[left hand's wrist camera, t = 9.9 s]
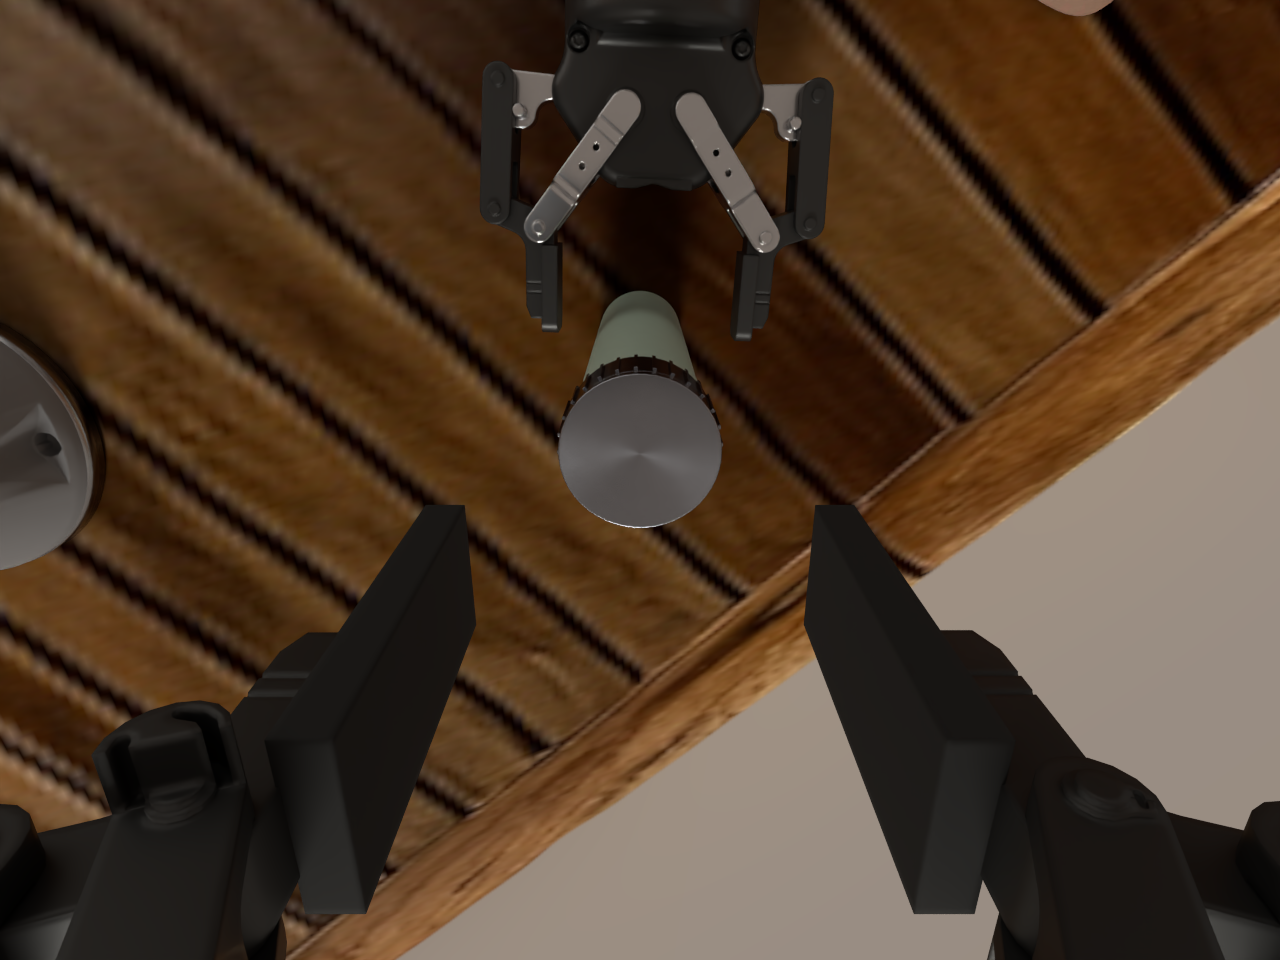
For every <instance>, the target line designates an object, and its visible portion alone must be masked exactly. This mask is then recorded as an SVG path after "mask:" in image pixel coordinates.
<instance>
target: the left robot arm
mask: <svg viewBox="0 0 1280 960" xmlns="http://www.w3.org/2000/svg"><path fill="white" fill-rule="evenodd" d="M104 481H105V459H104V451H103V446H102V442H101V438H100V435H99V432H98V429H97V426H96V424H95V421H94V419H93V416H92V414H91V412H90V410H89V408H88V407H87V405H86V403H85V401H84V400H83V398H82V396H81V395H80V393H79V392H78V390H77V389H76V388H75V386H74V385H73V383H72V382H71V381H70V379H69V378H68V377H67V376H66V375H65V374H64V372H63V371H62V370H61V369H60V368H59V367H58V366H57V365H56V364H55V363H54V362H53V361H52V360H51V359H50V358H49V357H48V356H47V355H46V354H45V353H44V352H42V351H41V350H40V349H39V348H38V347H37V346H35V345H34V344H33V343H31V342H30V341H29V340H27V339H26V338H25V337H23V336H22V335H20V334H18V333H17V332H15V331H14V330H12V329H11V328H9V327H7V326H5V325H3V324H2V323H0V570H3V569H7V568H11V567H15V566H18V565H21V564H24V563H26V562H29V561H32V560H35V559H37V558H39V557H41V556H44V555H45V554H47V553H49V552H51V551H52V550H54V549H56V548H57V547H59V546H60V545H62V544H64V543H65V542H67V541H69V540H70V539H72V538H73V537H74V536H75V535H77V534H78V533H79V532H80V531H81V530H82V529H83V528H84V527H85V526H86V525H87V523H88V522H89V521H90V519H91V518H92V516H93V515H94V513H95V511H96V509H97V507H98V505H99V502H100V500H101V496H102V492H103V488H104ZM475 626H476V618H475V607H474V597H473V587H472V576H471V566H470V556H469V546H468V535H467V525H466V515H465V505H426V506H425V507H424V509H423V510H422V511H421V513H420V514H419V516H418V517H417V519H416V520H415V522H414V523H413V525H412V526H411V527H410V529H409V530H408V532H407V533H406V535H405V536H404V538H403V539H402V541H401V542H400V543H399V545H398V546H397V548H396V549H395V551H394V552H393V554H392V555H391V557H390V558H389V559H388V561H387V562H386V564H385V565H384V567H383V568H382V570H381V571H380V572H379V574H378V575H377V577H376V578H375V580H374V581H373V583H372V584H371V586H370V587H369V588H368V590H367V591H366V593H365V594H364V596H363V597H362V599H361V600H360V602H359V603H358V604H357V606H356V607H355V609H354V610H353V612H352V613H351V615H350V616H349V618H348V619H347V620H346V622H345V623H344V625H343V626H342V628H341V629H340V631H339V632H338V633H307V634H305V635H304V636H302V637H301V638H299V639H298V640H297V641H295V642H294V643H292V644H291V645H289V646H288V647H286V648H285V649H283V650H282V651H280V653H279V654H278V655H277V656H276V658H275V659H274V660H273V661H272V663H271V664H270V665H269V667H268V668H267V669H266V670H265V672H264V673H263V677H262V678H259V679H258V681H257V682H256V683H255V684H254V686H253V687H252V688H251V689H250V691H249V692H248V697H244V698H243V700H242V701H241V702H240V703H239V705H238V706H237V707H236V709H235V710H234V711H233V712H232V714H231V715H230V712H228V711H227V710H226V709H224V708H223V707H222V706H221V705H219V704H216V703H211V702H205V701H190V702H179V703H174V704H170V705H167V706H163V707H160V708H157V709H153V710H150V711H148V712H146V713H144V714H142V715H140V716H138V717H136V718H134V719H131V720H129V721H127V722H125V723H124V724H123V725H121V726H120V727H119V728H117V729H116V730H115V731H113V732H112V733H111V734H109V735H108V736H107V737H105V738H104V739H103V741H102V742H101V743H100V745H99V746H98V747H97V748H96V750H95V751H94V752H93V754H92V758H93V761H94V764H95V766H96V769H97V772H98V775H99V778H100V781H101V784H102V786H103V789H104V792H105V795H106V798H107V801H108V803H109V806H110V809H111V812H112V815H111V816H107V817H104V818H101V819H97V820H92V821H88V822H84V823H79V824H75V825H71V826H67V827H62V828H58V829H54V830H49V831H45V832H41V833H37V831H36V829H35V826H34V824H33V821H32V819H31V817H30V814H29V813H28V812H26V811H25V810H23V809H22V808H20V807H19V806H18V805H6V804H0V960H285V957H286V946H287V940H286V934H285V927H284V923H283V919H282V913H283V911H284V909H285V907H286V905H287V903H288V901H289V899H290V897H291V895H292V893H293V891H294V889H295V887H296V885H297V883H298V885H299V889H300V893H301V897H302V901H303V905H304V910H305V914H366V913H367V910H368V907H369V905H370V902H371V899H372V897H373V894H374V892H375V889H376V886H377V884H378V881H379V878H380V876H381V873H382V871H383V868H384V865H385V863H386V860H387V857H388V855H389V852H390V850H391V847H392V844H393V842H394V839H395V836H396V834H397V831H398V829H399V826H400V823H401V821H402V818H403V815H404V813H405V810H406V807H407V805H408V802H409V800H410V797H411V794H412V792H413V789H414V786H415V784H416V781H417V779H418V776H419V773H420V771H421V768H422V765H423V763H424V760H425V758H426V755H427V752H428V750H429V747H430V744H431V742H432V739H433V737H434V734H435V731H436V729H437V726H438V723H439V721H440V718H441V716H442V713H443V710H444V708H445V705H446V702H447V700H448V697H449V694H450V692H451V689H452V687H453V684H454V681H455V679H456V676H457V673H458V671H459V668H460V666H461V663H462V660H463V658H464V655H465V652H466V650H467V647H468V645H469V642H470V639H471V637H472V634H473V631H474V629H475ZM804 626H805V629H806V631H807V634H808V637H809V639H810V642H811V645H812V647H813V650H814V652H815V655H816V658H817V660H818V663H819V665H820V668H821V671H822V673H823V676H824V679H825V681H826V684H827V687H828V689H829V692H830V694H831V697H832V700H833V702H834V705H835V708H836V710H837V713H838V715H839V718H840V721H841V723H842V726H843V729H844V731H845V734H846V736H847V739H848V742H849V744H850V747H851V750H852V752H853V755H854V757H855V760H856V763H857V765H858V768H859V770H860V773H861V776H862V779H863V781H864V784H865V786H866V789H867V792H868V794H869V797H870V799H871V802H872V805H873V807H874V810H875V813H876V815H877V818H878V821H879V823H880V826H881V829H882V831H883V834H884V836H885V839H886V842H887V844H888V847H889V850H890V852H891V855H892V857H893V860H894V863H895V865H896V868H897V871H898V873H899V876H900V878H901V881H902V884H903V886H904V889H905V891H906V894H907V897H908V899H909V902H910V905H911V907H912V910H913V913H914V914H975V910H976V905H977V901H978V897H979V893H980V889H981V884H982V880H983V881H984V883H985V885H986V887H987V889H988V891H989V893H990V895H991V897H992V899H993V901H994V903H995V905H996V907H997V909H998V911H999V915H998V919H997V923H996V927H995V931H994V935H993V939H992V943H991V946H990V950H989V954H988V958H987V960H1280V801H1275V802H1264V803H1262V804H1261V805H1259V806H1258V807H1256V808H1255V809H1254V810H1252V812H1251V814H1250V817H1249V819H1248V822H1247V824H1246V826H1245V829H1244V830H1240V829H1235V828H1231V827H1227V826H1222V825H1218V824H1214V823H1210V822H1205V821H1201V820H1197V819H1192V818H1188V817H1183V816H1180V815H1176V814H1173V813H1170V812H1167V811H1166V810H1165V808H1164V807H1163V805H1162V804H1161V802H1160V801H1159V799H1158V798H1157V796H1156V795H1155V794H1154V793H1152V792H1151V791H1150V790H1149V789H1148V788H1146V787H1145V786H1144V785H1143V784H1142V783H1141V782H1139V781H1138V780H1137V779H1136V778H1134V777H1132V776H1130V775H1128V774H1126V773H1125V772H1123V771H1121V770H1119V769H1117V768H1115V767H1114V766H1111V765H1108V764H1105V763H1102V762H1099V761H1096V760H1093V759H1090V758H1086V757H1085V756H1084V755H1083V753H1082V752H1081V751H1080V749H1079V748H1078V747H1077V746H1076V744H1075V743H1074V742H1073V741H1072V739H1071V738H1070V737H1069V736H1068V734H1067V733H1066V732H1065V731H1064V729H1063V728H1062V727H1061V726H1060V724H1059V723H1058V722H1057V720H1056V719H1055V718H1054V717H1053V715H1052V714H1051V713H1050V712H1049V710H1048V709H1047V708H1046V707H1045V705H1044V704H1043V703H1042V701H1041V700H1040V699H1039V698H1038V696H1037V695H1033V693H1032V689H1031V688H1030V686H1029V685H1028V684H1027V682H1026V681H1025V680H1024V679H1023V677H1022V676H1018V671H1017V670H1016V669H1015V667H1014V666H1013V665H1012V664H1011V662H1010V661H1009V660H1008V658H1007V657H1006V656H1005V655H1004V653H1003V652H1002V651H1001V650H1000V649H999V648H998V647H996V646H995V645H993V644H992V643H990V642H989V641H987V640H986V639H984V638H983V637H981V636H980V635H978V634H977V633H975V632H974V631H972V630H940V629H939V628H938V626H937V625H936V623H935V622H934V620H933V619H932V618H931V616H930V615H929V613H928V612H927V610H926V609H925V607H924V606H923V604H922V603H921V602H920V600H919V599H918V597H917V596H916V594H915V593H914V591H913V590H912V588H911V587H910V586H909V584H908V583H907V581H906V580H905V578H904V577H903V575H902V574H901V572H900V571H899V570H898V568H897V567H896V565H895V564H894V562H893V561H892V559H891V558H890V557H889V555H888V554H887V552H886V551H885V549H884V548H883V546H882V545H881V543H880V542H879V541H878V539H877V538H876V536H875V535H874V533H873V532H872V530H871V529H870V527H869V526H868V525H867V523H866V522H865V520H864V519H863V517H862V516H861V514H860V513H859V511H858V510H857V509H856V507H855V506H854V505H815V515H814V525H813V535H812V546H811V556H810V566H809V576H808V587H807V597H806V607H805V618H804Z"/></svg>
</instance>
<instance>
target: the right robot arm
mask: <svg viewBox="0 0 1280 960" xmlns="http://www.w3.org/2000/svg"><path fill="white" fill-rule="evenodd" d="M759 2H760V0H565V47H564V53H563V57H562V60H561V63H560V65H559V67H558V69H557V71H556V73H555V75H553V74H544V73H536V72H527V71H519V70H513V69H511V68H510V67H509V66H508V65H507V64H505V63H504V62H501V61H493V62H491V63H489V64H488V65H487V66H486V67H485V69H484V72H483V85H482V132H481V179H480V212H481V215H482V217H483V218H484V219H485V220H486V221H487V222H489V223H491V224H496V225H499V226H501V227H504V228H506V229H508V230H511V231H513V232H515V233H517V234H518V235H519V236H520V237H521V238H522V240H523V241H524V244H525V247H526V282H527V284H526V290H527V308H528V310H529V313H530V315H531V318H542V331H543V332H559V331H560V329H561V327H562V243H560V242H558V231H559V230H560V228H561V227H562V225H563V224H564V223H565V221H566V220H567V219H568V217H569V216H570V215H571V213H572V212H573V211H574V209H575V208H576V207H577V205H578V204H579V203H580V202H581V201H582V199H583V198H584V197H585V196H586V194H587V193H588V192H589V190H590V189H591V188H592V186H593V185H594V184H595V182H596V181H597V180H598V178H599V177H601V178H603V179H604V180H605V181H606V182H608V183H610V184H612V185H614V186H616V187H617V188H639V187H643V186H647V185H651V184H655V185H658V186H661V187H664V188H667V189H670V190H682V191H692V189H696V188H698V187H700V186H702V185H704V184H705V183H708V184H709V186H710V188H711V189H712V191H713V193H714V194H715V196H716V198H717V199H718V201H719V202H720V204H721V205H722V207H723V208H724V209H725V211H726V212H727V214H728V215H729V217H730V219H731V220H732V222H733V224H734V225H735V227H736V228H737V230H738V232H739V233H740V235H741V237H742V238H743V248H742V251H737V256H736V268H735V279H734V291H733V302H732V314H731V326H730V333H731V336H732V338H733V339H734V341H750V340H751V336H752V328H763V326H764V324H765V322H766V320H767V318H768V312H769V303H770V293H771V284H772V274H773V265H774V259H775V256H776V254H777V253H778V251H779V250H780V249H781V248H782V247H784V246H786V245H789V244H792V243H795V242H798V241H801V240H804V239H813V238H815V237H817V236H818V235H819V234H820V233H821V232H822V230H823V228H824V223H825V209H826V195H827V181H828V166H829V152H830V138H831V124H832V110H833V95H834V91H833V87H832V85H831V83H830V82H829V81H828V80H827V79H825V78H814V79H812V80H810V81H808V82H806V83H804V84H773V85H762V82H761V80H760V77H759V75H758V71H757V67H756V61H755V47H756V36H757V24H758V13H759ZM548 103H554V104H555V106H556V108H557V110H558V112H559V113H560V115H561V116H562V118H563V120H564V121H565V123H566V124H567V126H568V127H569V129H570V131H571V132H572V134H573V135H574V137H575V139H576V140H577V142H578V143H579V144H578V146H577V147H576V148H575V150H574V151H573V152H572V154H571V155H570V157H569V158H568V159H567V161H566V162H565V163H564V165H563V166H562V168H561V169H560V170H559V172H558V173H557V175H556V176H555V178H554V179H553V181H552V183H551V185H550V186H549V188H548V189H547V190H546V192H545V193H544V195H543V196H542V197H541V199H540V200H539V201H538V203H537V204H536V206H533V205H531V204H528V203H526V202H524V201H521V200H519V175H520V150H521V130H528V129H531V128H532V127H534V126H535V124H536V123H537V120H538V116H539V112H540V110H541V109H542V107H543V106H544V105H546V104H548ZM761 112H762V113H765V114H767V115H768V116H769V117H770V118H771V120H772V122H773V126H774V133H775V135H776V137H777V138H778V139H779V140H781V141H783V142H789V146H788V166H787V185H786V205H785V212H784V213H781V214H777V215H774V216H771V217H770V215H769V213H768V212H767V210H766V208H765V207H764V205H763V203H762V202H761V200H760V198H759V196H758V195H757V192H756V189H755V187H754V185H753V183H752V181H751V180H750V178H749V176H748V175H747V173H746V171H745V170H744V168H743V166H742V164H741V163H740V161H739V159H738V158H737V156H736V154H735V153H734V151H733V149H734V148H735V147H736V145H737V144H738V143H739V142H740V140H741V139H742V138H743V136H744V135H745V134H746V132H747V131H748V130H749V128H750V127H751V126H752V125H753V123H754V122H755V121H756V119H757V118H758V116H759V115H760V113H761Z"/></svg>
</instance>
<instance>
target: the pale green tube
mask: <svg viewBox="0 0 1280 960" xmlns="http://www.w3.org/2000/svg"><path fill="white" fill-rule="evenodd" d="M636 354H638V356H646V357H652V355H653V356H656V358H658V359H662V360H665V361H668V362H669V360H671V361H673V364H675V365H676V366H678V367H680V368H682V369H683V370H684V369H687V370H688V373H689V374H690V375H691V376H692V377H693V378H694V379H695V380H696V377H695V373H694V370H693V367H692V363H691V360H690V357H689V354H688V350H687V347H686V344H685V340H684V337H683V334H682V331H681V327H680V324H679V321H678V318H677V315H676V313H675V311H674V309H673V308H672V307H671V305H670V304H669V303H668V302H667V301H666V300H664V299H663V298H662V297H660V296H658V295H656V294H654V293H651V292H646V291H634V292H629V293H626V294H624V295H622V296H620V297H618V298H617V299H616V300H614V301H613V302H612V303H611V304H610V305H609V307H608V308H607V309H606V311H605V313H604V315H603V318H602V321H601V324H600V327H599V331H598V334H597V337H596V340H595V344H594V347H593V350H592V354H591V357H590V360H589V363H588V367H587V370H586V373H585V377H584V380H585V378H586V375H587V374H588V373H589V374H592V373H593V372H594V371H596V370H597V369H598V368H600V365H601V364H604V365H605V364H608V363H610V362H612V361H615V360H617V358H618V357H620V358H621V359H622V358H627V357H634V355H636ZM584 380H583V381H584ZM696 381H697V380H696Z"/></svg>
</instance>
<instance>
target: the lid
mask: <svg viewBox="0 0 1280 960" xmlns="http://www.w3.org/2000/svg"><path fill="white" fill-rule="evenodd" d="M562 419H563V420H562V423H561V426H560V429H559V432H558V437H559V445H558V450H557V453H558V456H559V463H560V469H561V472H562V475H563V478H564V480H565V482H566V484H567V486H568V488H569V490H570V491H571V493H572V494H573V496H574V497H575V498H576V499H577V500H578V501H579V502H580V504H582V505H583V506H584V507H585V508H586V509H587V510H588V511H590V512H591V513H593V514H594V515H596V516H598V517H599V518H601V519H603V520H605V521H608V522H611V523H613V524H617V525H621V526H625V527H633V528H647V527H655V526H659V525H663V524H667V523H669V522H672V521H675V520H677V519H679V518H681V517H682V516H684V515H686V514H687V513H689V512H690V511H691V510H693V509H694V508H695V507H696V506H697V505H698V504H700V503H701V501H702V500H703V499H704V498H705V497H706V496H707V494H708V493H709V491H710V490H711V488H712V486H713V484H714V482H715V480H716V478H717V475H718V472H719V469H720V464H721V457H722V446H723V442H722V439H721V436H720V433H719V429H721V426H720V423H719V420H718V417H717V415H716V412H715V409H714V407H713V404H712V402H711V399H710V396H709V394H707V395H706V394H705V392H704V390H703V389H702V386H701V383H700V381H699V380H697V381H696V380H695V379H694V378H693V377H692V376H691V375H690V374H689V373H688V370H687V369H684V370H683V369H682V368H680V367H678V366H676V365H675V364H673V361H671V360H669V362H668V361H665V360H662V359H658V358H656V356H653V355H652V357H646V356H638V354H636V355H634V357H627V358H622V359H621V358H620V357H618V358H617V360H615V361H612V362H610V363H608V364H605V365H604V364H601V365H600V368H598V369H597V370H596V371H594V372H593V373H592V374H589V373H588V374H587V375H586V378H585V380H584V381H583V382H582V384H581V385H580V386H579V387H578V386H576V388H575V390H574V393H573V396H572V399H571V401H568V403H567V405H566V408H565V411H564V414H563V417H562Z"/></svg>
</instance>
